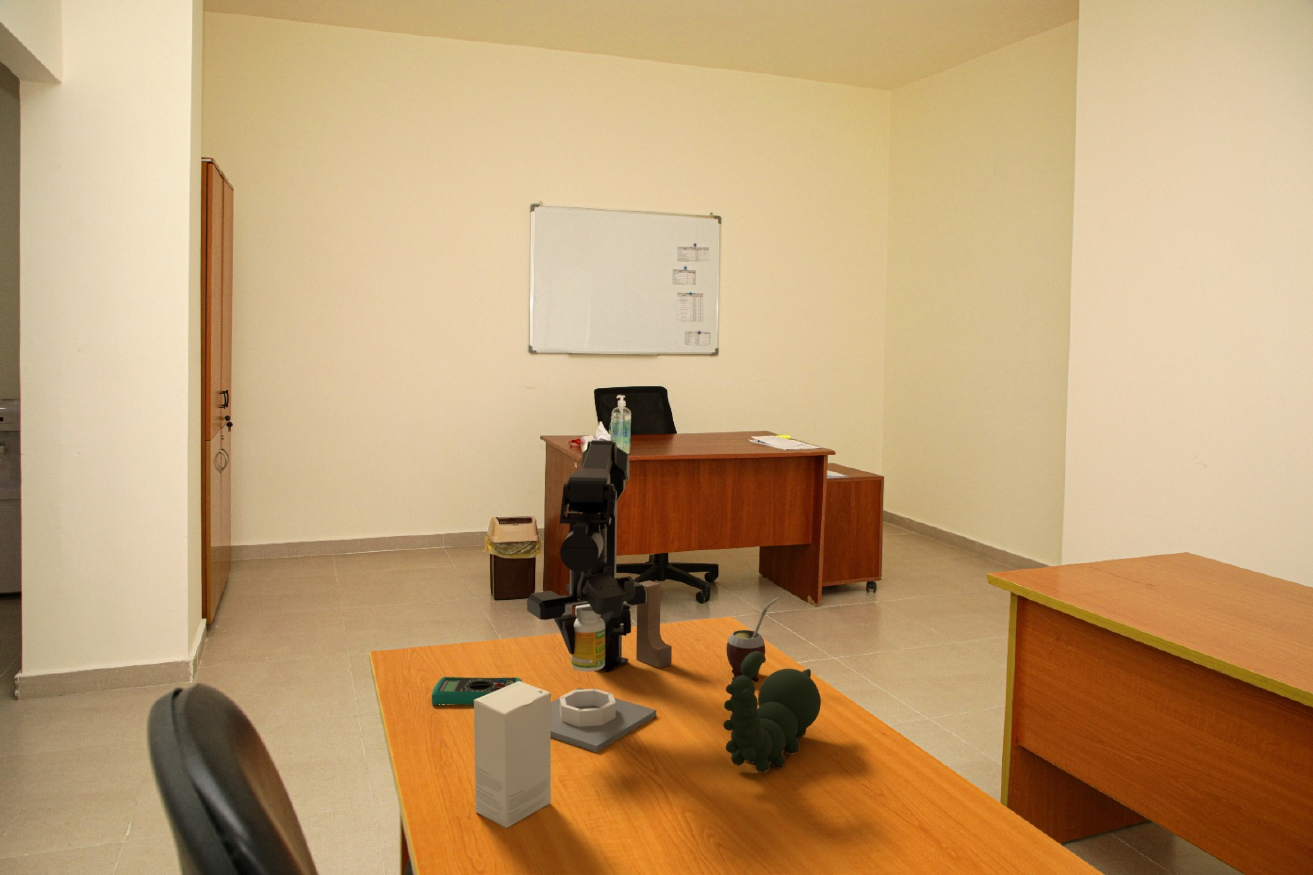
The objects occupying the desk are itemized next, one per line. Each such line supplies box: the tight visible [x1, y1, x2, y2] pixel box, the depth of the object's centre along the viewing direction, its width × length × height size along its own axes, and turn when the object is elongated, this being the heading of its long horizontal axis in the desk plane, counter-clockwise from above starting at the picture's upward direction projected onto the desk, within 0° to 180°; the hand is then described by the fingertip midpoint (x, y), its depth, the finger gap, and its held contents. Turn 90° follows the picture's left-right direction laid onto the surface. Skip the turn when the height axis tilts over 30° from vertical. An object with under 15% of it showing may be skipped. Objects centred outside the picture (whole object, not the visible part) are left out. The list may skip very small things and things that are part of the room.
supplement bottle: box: [570, 604, 605, 673], centre depth 144 cm, size 5×5×10 cm
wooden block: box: [635, 580, 673, 669], centre depth 172 cm, size 7×3×15 cm, turn 43°
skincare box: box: [473, 681, 552, 829], centre depth 118 cm, size 8×7×16 cm
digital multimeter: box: [431, 676, 523, 706], centre depth 155 cm, size 7×15×3 cm, turn 91°
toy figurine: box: [723, 651, 822, 773], centre depth 135 cm, size 9×19×25 cm
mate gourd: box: [725, 597, 780, 683], centre depth 165 cm, size 8×8×15 cm
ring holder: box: [550, 687, 657, 753], centre depth 146 cm, size 16×16×4 cm
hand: (587, 650), depth 145 cm, fingers closed on supplement bottle, 5 cm apart
